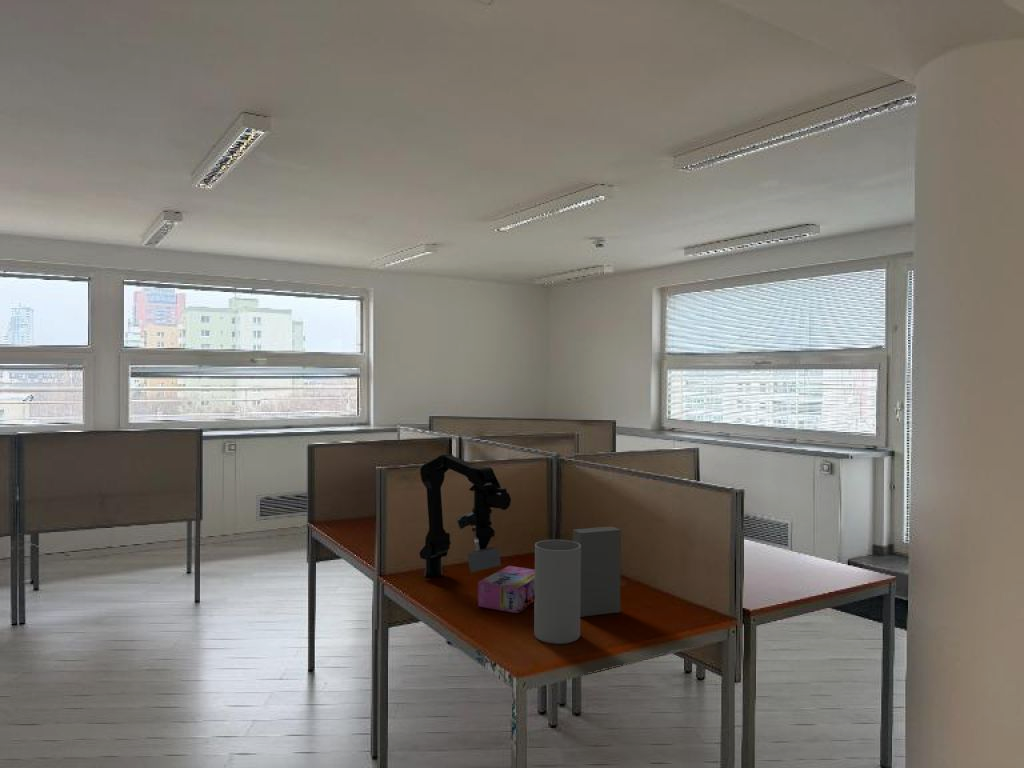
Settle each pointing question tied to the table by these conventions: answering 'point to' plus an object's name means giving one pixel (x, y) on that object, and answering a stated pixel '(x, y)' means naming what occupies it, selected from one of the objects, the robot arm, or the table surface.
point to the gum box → (507, 589)
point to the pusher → (483, 558)
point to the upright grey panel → (599, 570)
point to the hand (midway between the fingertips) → (481, 552)
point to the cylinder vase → (557, 591)
